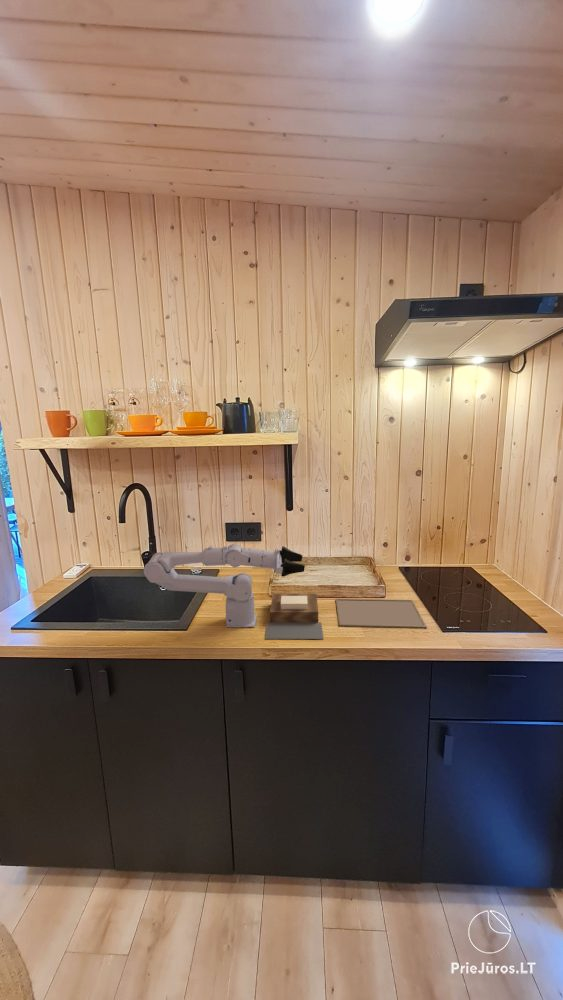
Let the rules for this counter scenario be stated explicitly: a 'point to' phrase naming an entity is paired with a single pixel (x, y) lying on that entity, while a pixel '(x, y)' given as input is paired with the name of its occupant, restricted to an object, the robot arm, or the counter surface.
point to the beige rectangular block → (294, 602)
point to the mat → (294, 630)
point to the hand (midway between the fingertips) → (303, 563)
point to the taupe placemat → (378, 613)
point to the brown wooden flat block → (294, 610)
